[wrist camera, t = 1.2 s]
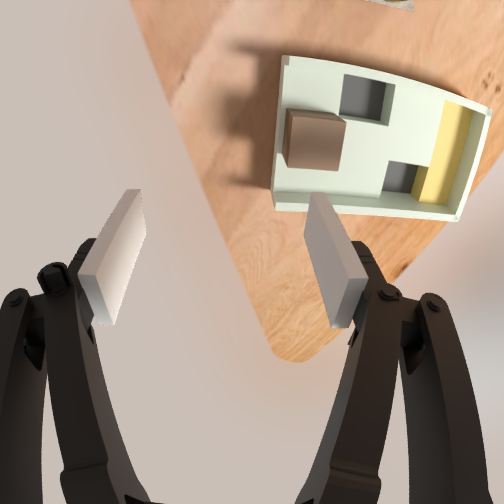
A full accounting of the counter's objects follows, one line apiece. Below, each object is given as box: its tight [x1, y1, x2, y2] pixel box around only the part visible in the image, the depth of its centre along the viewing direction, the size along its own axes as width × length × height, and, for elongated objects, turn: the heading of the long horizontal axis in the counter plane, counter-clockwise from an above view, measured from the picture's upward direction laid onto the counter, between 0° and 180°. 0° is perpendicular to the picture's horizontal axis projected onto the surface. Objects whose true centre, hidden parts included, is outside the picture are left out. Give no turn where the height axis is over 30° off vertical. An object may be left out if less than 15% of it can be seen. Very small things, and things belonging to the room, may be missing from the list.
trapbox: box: [270, 55, 492, 222], centre depth 30 cm, size 16×25×5 cm, turn 87°
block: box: [282, 108, 347, 171], centre depth 28 cm, size 5×5×4 cm
